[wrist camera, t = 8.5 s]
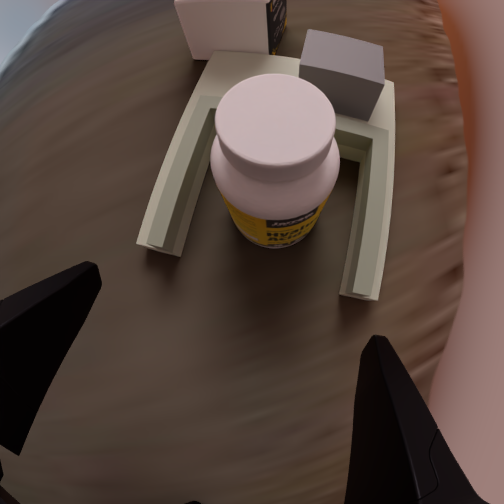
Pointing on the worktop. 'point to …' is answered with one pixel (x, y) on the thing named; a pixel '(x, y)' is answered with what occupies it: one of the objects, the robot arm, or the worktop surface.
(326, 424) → the worktop surface
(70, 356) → the worktop surface
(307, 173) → the supplement bottle
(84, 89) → the worktop surface
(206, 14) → the medicine bottle
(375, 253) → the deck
